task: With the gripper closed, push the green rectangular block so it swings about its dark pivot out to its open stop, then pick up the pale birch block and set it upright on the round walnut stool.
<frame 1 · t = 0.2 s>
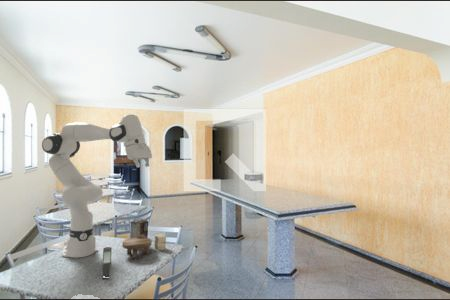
hand: (143, 166, 152), 52 cm above the table, tool tilted 20°, fingers open, 8 cm apart
birch block: (159, 248, 173), on the table
green rectangular block: (106, 261, 138), point 4 cm above the table, hinge at -15.0°
stool: (136, 255, 160), on the table
coffee box: (138, 247, 175), on the table
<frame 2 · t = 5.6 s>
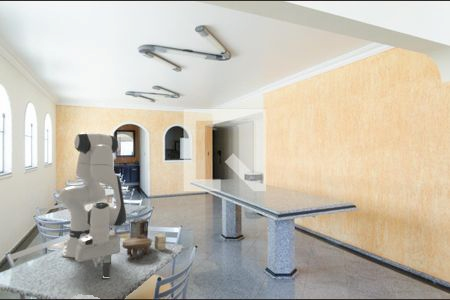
hand: (98, 266, 133), 4 cm above the table, tool pointing down, fingers closed
green rectangular block: (106, 261, 138), point 4 cm above the table, hinge at -14.9°, touching gripper
everything else where it was.
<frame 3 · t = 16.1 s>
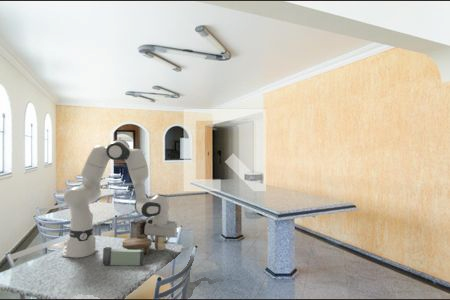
hand: (160, 242, 173), 4 cm above the table, tool pointing down, fingers closed on birch block, 7 cm apart
birch block: (160, 248, 173), on the table, touching gripper
green rectangular block: (123, 256, 147), point 4 cm above the table, hinge at 56.9°
everything else where it was.
when the fingers open (13 cm above the table, at t = 23.8 s): birch block drops 1 cm, resting on stool.
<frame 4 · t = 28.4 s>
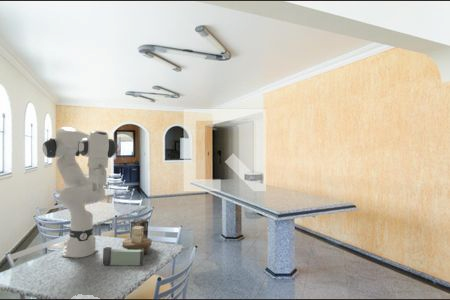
hand: (96, 192, 135), 39 cm above the table, tool pointing down, fingers open, 8 cm apart
birch block: (137, 241, 160), point 8 cm above the table, touching stool
everything else where it was.
at the end: green rectangular block at +57° (first picture: -15°); birch block inside the target area on the stool (0.1 cm from its centre), point 8.0 cm above the stool's base; birch block tilted 0° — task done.
